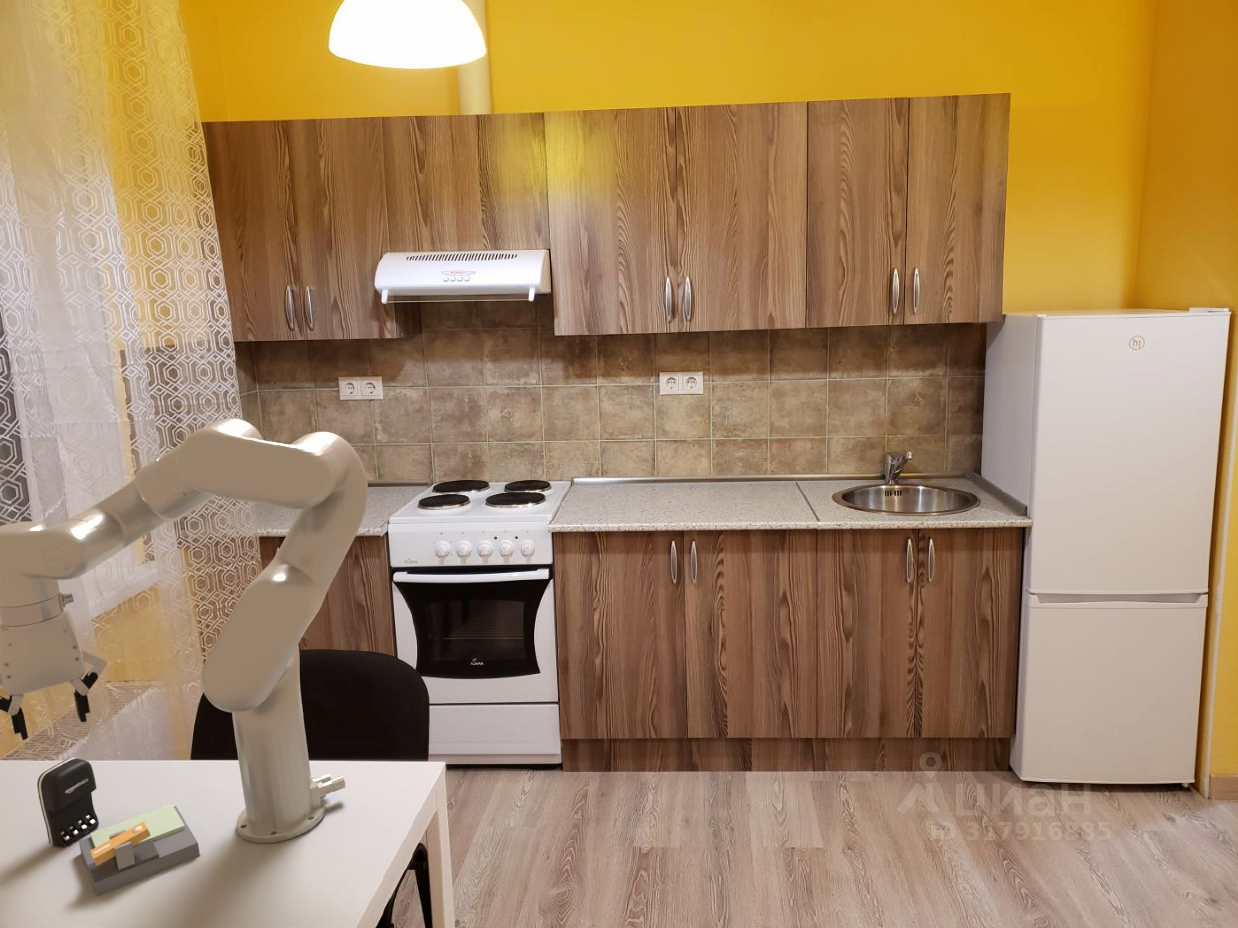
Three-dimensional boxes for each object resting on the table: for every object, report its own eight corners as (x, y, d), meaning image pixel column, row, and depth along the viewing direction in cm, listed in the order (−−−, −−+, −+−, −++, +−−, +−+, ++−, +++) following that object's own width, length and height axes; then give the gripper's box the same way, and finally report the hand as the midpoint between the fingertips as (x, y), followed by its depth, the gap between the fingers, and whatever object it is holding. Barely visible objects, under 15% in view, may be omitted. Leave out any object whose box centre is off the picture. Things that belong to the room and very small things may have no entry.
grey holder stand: (177, 817, 141) (172, 784, 140) (199, 855, 132) (194, 819, 131) (81, 853, 134) (74, 818, 133) (97, 895, 124) (89, 858, 123)
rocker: (146, 827, 130) (143, 820, 130) (150, 835, 128) (147, 828, 128) (93, 857, 126) (90, 850, 126) (96, 865, 124) (93, 858, 124)
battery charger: (65, 852, 134) (51, 780, 132) (47, 847, 136) (32, 775, 133) (107, 825, 140) (95, 755, 138) (90, 820, 142) (77, 751, 140)
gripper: (95, 588, 139) (115, 699, 142) (-46, 619, 128) (-21, 738, 132) (105, 601, 133) (125, 716, 137) (-42, 634, 123) (-16, 758, 126)
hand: (53, 726), depth 134 cm, fingers open, 6 cm apart
